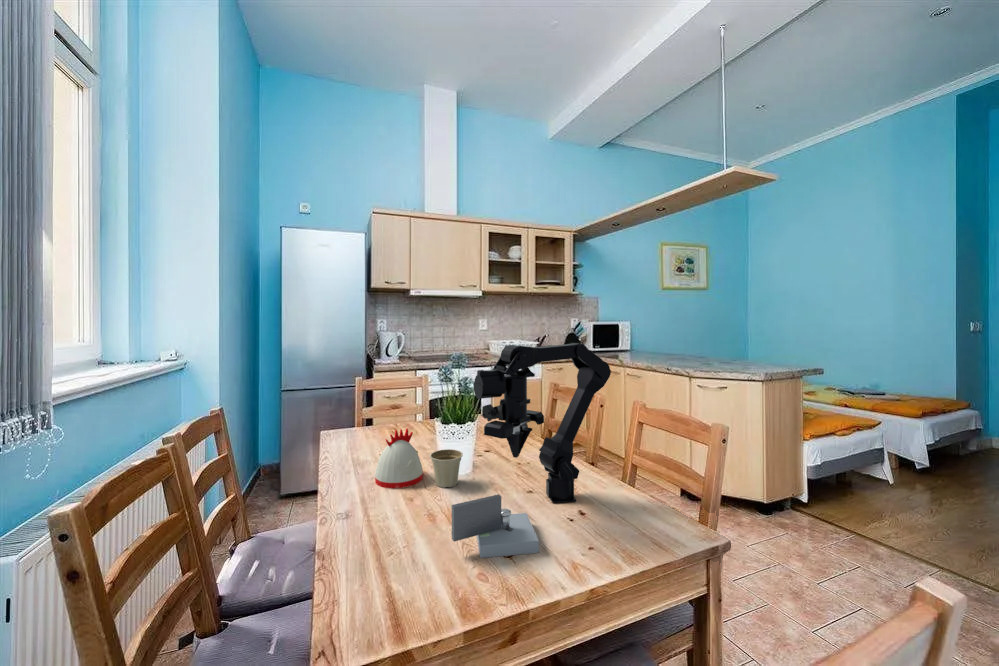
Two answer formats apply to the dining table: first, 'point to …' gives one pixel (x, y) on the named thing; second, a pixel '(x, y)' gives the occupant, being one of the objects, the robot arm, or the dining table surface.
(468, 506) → the gray pivoting panel
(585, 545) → the dining table surface
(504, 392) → the robot arm
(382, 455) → the grey and red dome
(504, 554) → the gray square base
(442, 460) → the flower pot
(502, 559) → the dining table surface
